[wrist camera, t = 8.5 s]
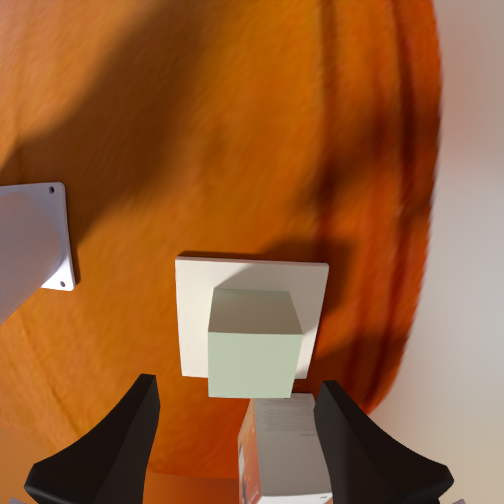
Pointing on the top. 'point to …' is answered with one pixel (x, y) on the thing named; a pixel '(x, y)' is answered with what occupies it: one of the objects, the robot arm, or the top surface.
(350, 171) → the top surface
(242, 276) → the tile
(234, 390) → the cube
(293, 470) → the small box
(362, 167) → the top surface
